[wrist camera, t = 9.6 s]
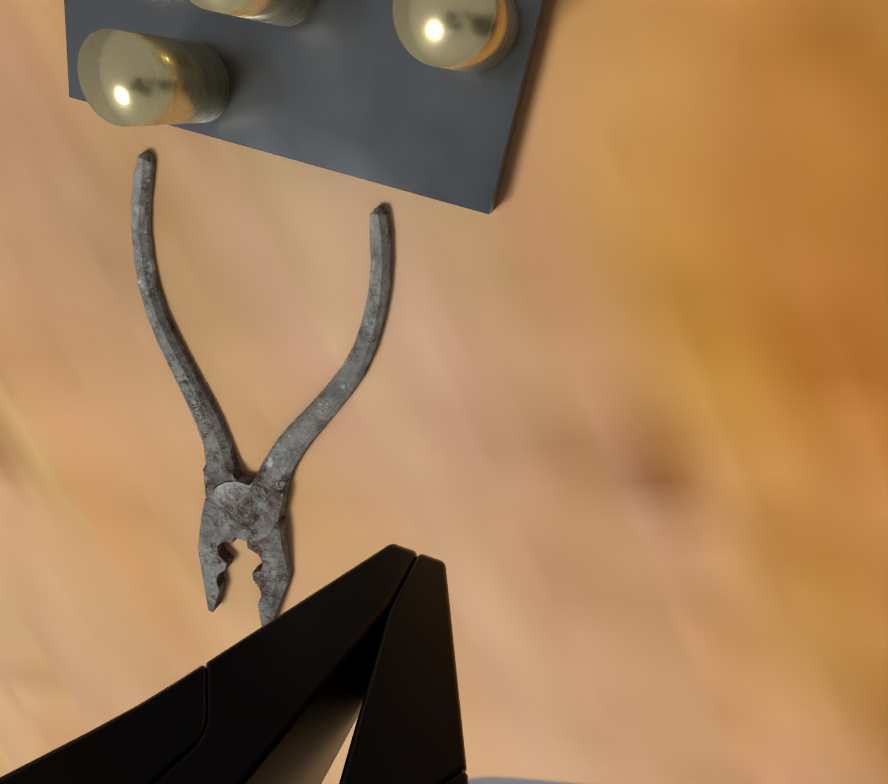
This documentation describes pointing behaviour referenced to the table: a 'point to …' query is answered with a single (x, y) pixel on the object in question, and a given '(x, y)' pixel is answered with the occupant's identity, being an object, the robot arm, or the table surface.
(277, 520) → the pliers
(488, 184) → the spacer plate
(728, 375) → the table surface
